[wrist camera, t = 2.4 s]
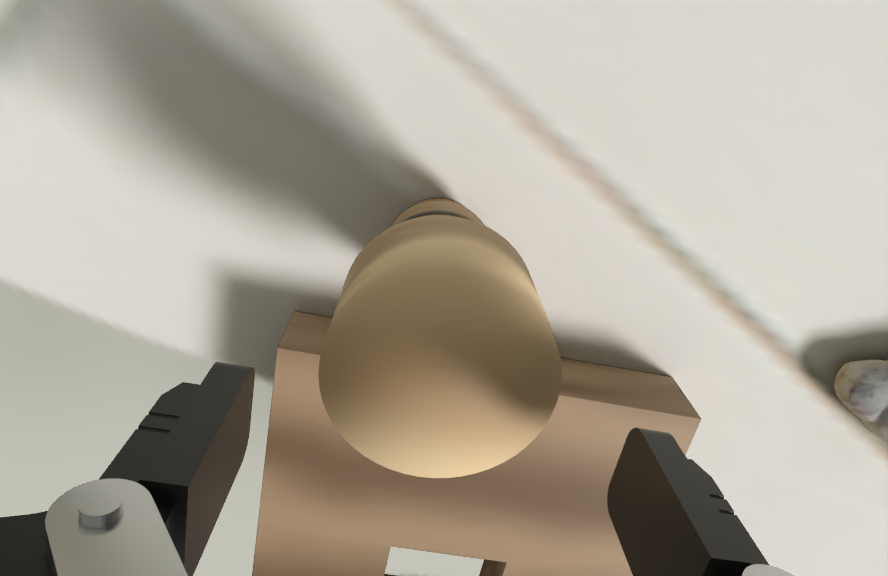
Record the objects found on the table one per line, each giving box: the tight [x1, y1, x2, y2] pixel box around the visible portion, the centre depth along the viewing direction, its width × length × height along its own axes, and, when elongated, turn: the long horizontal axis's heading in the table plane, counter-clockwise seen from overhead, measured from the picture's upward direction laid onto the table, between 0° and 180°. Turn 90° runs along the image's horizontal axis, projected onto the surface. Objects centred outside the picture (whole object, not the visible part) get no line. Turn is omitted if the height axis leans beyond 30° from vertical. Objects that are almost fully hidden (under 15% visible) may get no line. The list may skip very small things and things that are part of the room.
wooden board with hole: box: [252, 312, 701, 576], centre depth 28 cm, size 22×16×3 cm
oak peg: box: [318, 198, 562, 478], centre depth 19 cm, size 6×6×10 cm
